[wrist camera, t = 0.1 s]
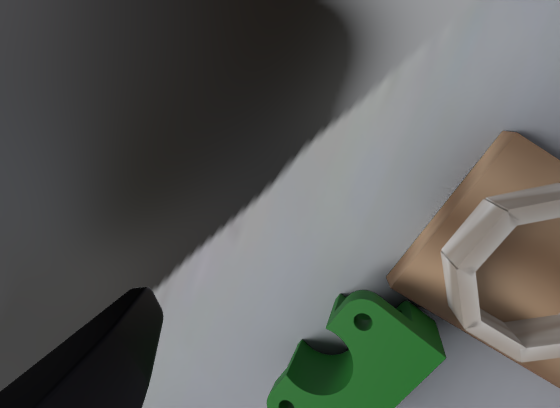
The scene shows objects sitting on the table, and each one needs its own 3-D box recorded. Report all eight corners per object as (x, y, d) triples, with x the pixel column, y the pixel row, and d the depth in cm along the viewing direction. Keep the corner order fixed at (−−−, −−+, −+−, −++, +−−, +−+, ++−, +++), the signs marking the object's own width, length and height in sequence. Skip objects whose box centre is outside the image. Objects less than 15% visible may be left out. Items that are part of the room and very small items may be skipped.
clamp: (352, 266, 29) (376, 265, 20) (411, 311, 28) (463, 332, 19) (266, 382, 27) (249, 438, 19) (324, 434, 26) (337, 519, 18)
